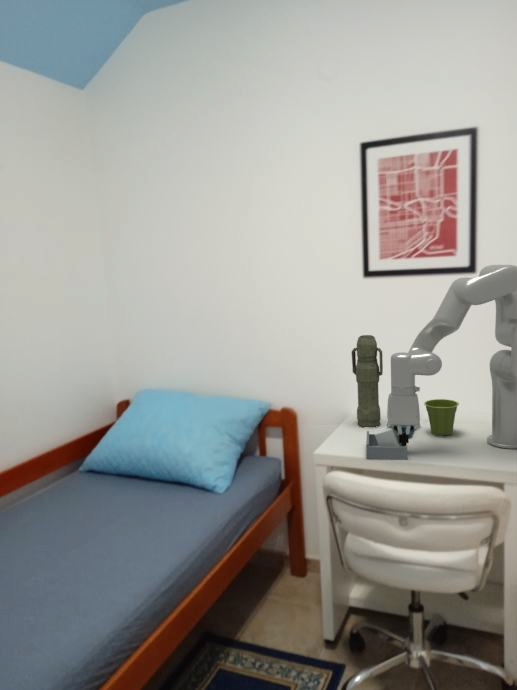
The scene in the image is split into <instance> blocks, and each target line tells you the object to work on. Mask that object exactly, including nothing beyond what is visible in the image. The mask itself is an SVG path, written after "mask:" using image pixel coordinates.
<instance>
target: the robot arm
mask: <svg viewBox="0 0 517 690" xmlns="http://www.w3.org/2000/svg"><path fill="white" fill-rule="evenodd" d="M492 301H494V302H495V327H494V335H495V336H494V337H495V340H496V342H498V343H499V344H500V345H501V346H505V347H510V348H511V349H499V350H498V351H496V352H495V353H493V355H492V356H491V357H490V360H489V373H490V379H491V387H492V390H491V392H492V393H491V396H492V397H491V398H492V399H491V405H492V406H491V435H489V436H487V438H486V441H487V443H488V444H489V445H492V446H493V447H498V448H502V449H510V450H511V449H517V265H512V264H490V265H487V266H484V267H483V268H482V269H481V270H480V272H479V274H478V276H476V277H460V278H456V279H454V281H453V282H452V283H451V285H449V288H448V289H447V292H446V294H445V296H444V298H443V299H442V302H441V304H440V305H439V307H438V309H437V310H436V312H435V315H434V316H433V318H432V319H431V320H430V321H429V322H427V324H426V325H425V326H424V327H423V328H422V330H421V331H420V332H419V333H418V334H417V336H416V337H415V339H414V341H413V343H412V344H411V346H410V348H409V350H408V352H403V351H402V352H395V353H393V354H391V356H390V385H391V386H390V388H391V389H390V390H391V391H390V392H391V393H389V394H388V398H387V409H386V410H387V412H386V413H387V414H386V415H387V423H386V427H388V428H391V427H393V429H395V430H396V431H397V432H398V433H399V443H401V445H402V446H401V447H408V446H407V445H408V444H409V442H410V441H409V440H410V439H409V433H410V432H411V431H412V430H413V429H415V430H416V429H420V428H421V423H420V422H421V416H420V415H421V414H420V404H419V402H420V401H419V396H418V393H417V392H420V389H421V388H420V387H419V386H416V376H427V377H428V376H429V377H430V376H434V375H436V374H437V373H439V372H441V370H442V367H443V363H442V359H441V358H440V356H439V355H437V354H436V353H434V352H433V351H434V350H435V348H436V347H437V345H438V344H439V342H440V341H442V340H444V338H446V337H447V336H450V335H453V334H454V333H455V332H457V331H458V330H459V329H460V327H461V325H462V323H463V321H465V320H464V319H465V318H466V316H467V313H468V312H469V310H470V309H471V307H472V306H481V305H484V304H486V303H489V302H492ZM401 425H405V426H406V428H405V431H404V434H403V431H402V429H401Z"/></svg>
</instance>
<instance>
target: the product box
mask: <svg viewBox="0 0 517 690" xmlns="http://www.w3.org/2000/svg"><path fill="white" fill-rule="evenodd" d="M374 434H375V438H376V440H377V443H378V445H379V446H385V447H402V446H401V443H399V439H398V436H397V434H396V431H395V429H393V427H391V428H388V427H387V426H386V427H382V428H379V429H377V430H376V431H375V433H374Z"/></svg>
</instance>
